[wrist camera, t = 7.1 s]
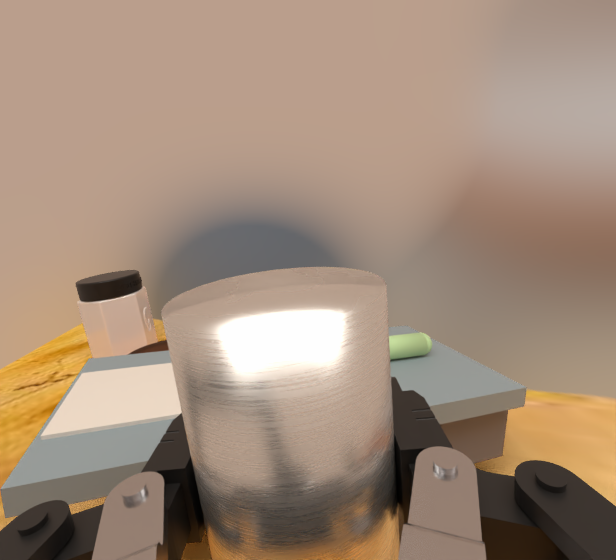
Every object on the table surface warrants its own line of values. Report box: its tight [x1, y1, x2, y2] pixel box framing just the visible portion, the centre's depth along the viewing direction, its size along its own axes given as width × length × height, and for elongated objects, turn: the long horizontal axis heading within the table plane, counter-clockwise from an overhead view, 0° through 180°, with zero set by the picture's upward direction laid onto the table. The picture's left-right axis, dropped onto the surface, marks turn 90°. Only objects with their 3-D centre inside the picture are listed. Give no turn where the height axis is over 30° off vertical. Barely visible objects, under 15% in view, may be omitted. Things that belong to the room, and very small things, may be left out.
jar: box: [76, 270, 158, 358], centre depth 52 cm, size 9×8×12 cm
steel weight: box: [161, 267, 400, 560], centre depth 10 cm, size 5×5×11 cm
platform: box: [0, 326, 527, 518], centre depth 22 cm, size 25×12×7 cm, turn 109°
